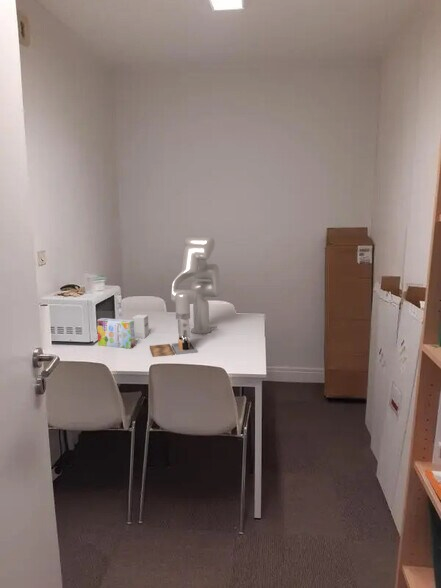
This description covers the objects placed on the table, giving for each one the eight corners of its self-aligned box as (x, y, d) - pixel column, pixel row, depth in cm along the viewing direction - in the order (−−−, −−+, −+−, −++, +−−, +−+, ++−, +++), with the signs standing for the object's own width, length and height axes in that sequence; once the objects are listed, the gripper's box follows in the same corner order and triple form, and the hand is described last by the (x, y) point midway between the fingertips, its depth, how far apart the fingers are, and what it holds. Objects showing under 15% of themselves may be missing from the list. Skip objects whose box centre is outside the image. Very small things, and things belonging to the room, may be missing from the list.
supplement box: (144, 338, 264) (143, 317, 261) (133, 338, 265) (132, 317, 263) (149, 335, 271) (148, 314, 268) (137, 334, 272) (136, 314, 270)
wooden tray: (169, 348, 245) (169, 343, 245) (174, 356, 232) (174, 351, 232) (149, 350, 243) (149, 345, 242) (152, 358, 229) (152, 353, 229)
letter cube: (187, 347, 243) (187, 338, 242) (189, 350, 239) (189, 341, 238) (178, 348, 242) (178, 339, 241) (180, 351, 237) (179, 342, 236)
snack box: (135, 346, 250) (134, 319, 247) (130, 349, 245) (129, 322, 242) (103, 342, 257) (101, 317, 254) (97, 345, 252) (95, 319, 249)
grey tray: (191, 346, 248) (191, 341, 248) (196, 354, 235) (196, 349, 235) (171, 348, 246) (171, 343, 245) (176, 356, 232) (175, 351, 232)
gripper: (193, 319, 229) (194, 351, 233) (186, 311, 246) (187, 341, 249) (178, 320, 227) (179, 352, 231) (173, 312, 244) (174, 342, 247)
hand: (183, 346), depth 240 cm, fingers open, 9 cm apart
